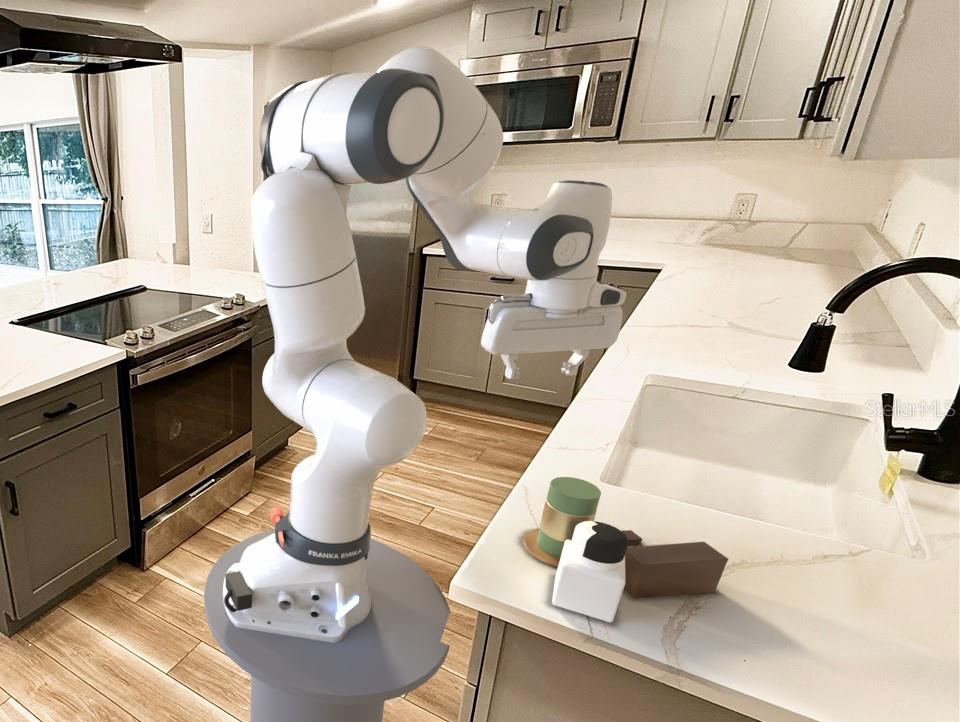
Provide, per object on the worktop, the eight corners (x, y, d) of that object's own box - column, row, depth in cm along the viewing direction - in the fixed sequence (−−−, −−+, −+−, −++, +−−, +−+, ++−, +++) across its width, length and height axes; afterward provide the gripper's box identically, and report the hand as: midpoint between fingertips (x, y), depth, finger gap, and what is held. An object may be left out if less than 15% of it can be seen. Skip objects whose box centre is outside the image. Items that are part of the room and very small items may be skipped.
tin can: (535, 564, 99) (514, 489, 103) (575, 561, 99) (552, 487, 103) (584, 554, 87) (558, 470, 92) (629, 550, 87) (601, 467, 92)
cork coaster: (541, 569, 94) (542, 566, 93) (512, 531, 103) (512, 528, 102) (610, 570, 93) (611, 567, 92) (574, 531, 102) (575, 528, 102)
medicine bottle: (612, 593, 88) (634, 524, 83) (612, 624, 83) (635, 552, 78) (555, 576, 92) (573, 510, 87) (551, 605, 87) (570, 536, 82)
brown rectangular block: (569, 540, 100) (577, 509, 97) (641, 535, 100) (651, 504, 98) (633, 598, 87) (644, 565, 85) (715, 592, 87) (728, 558, 85)
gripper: (503, 300, 91) (487, 387, 96) (638, 292, 91) (614, 378, 97) (481, 291, 96) (467, 373, 102) (607, 283, 97) (587, 365, 103)
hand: (540, 375), depth 99 cm, fingers open, 8 cm apart
